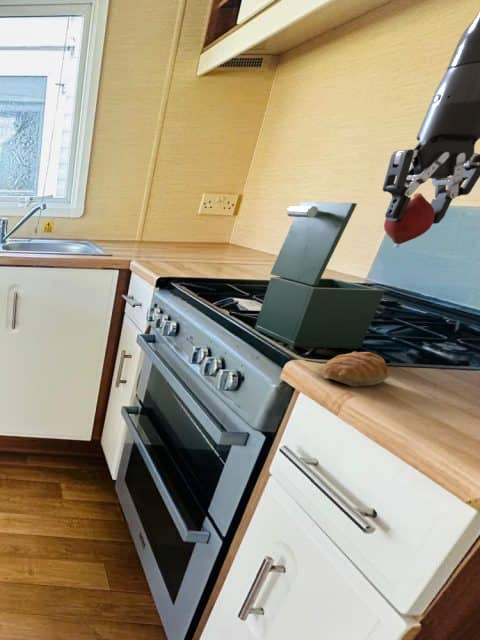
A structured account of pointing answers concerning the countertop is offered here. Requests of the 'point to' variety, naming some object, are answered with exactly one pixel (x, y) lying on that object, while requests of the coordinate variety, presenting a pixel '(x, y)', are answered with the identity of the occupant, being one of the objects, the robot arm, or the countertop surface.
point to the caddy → (318, 312)
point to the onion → (411, 221)
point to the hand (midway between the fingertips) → (411, 221)
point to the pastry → (357, 369)
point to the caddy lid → (311, 240)
